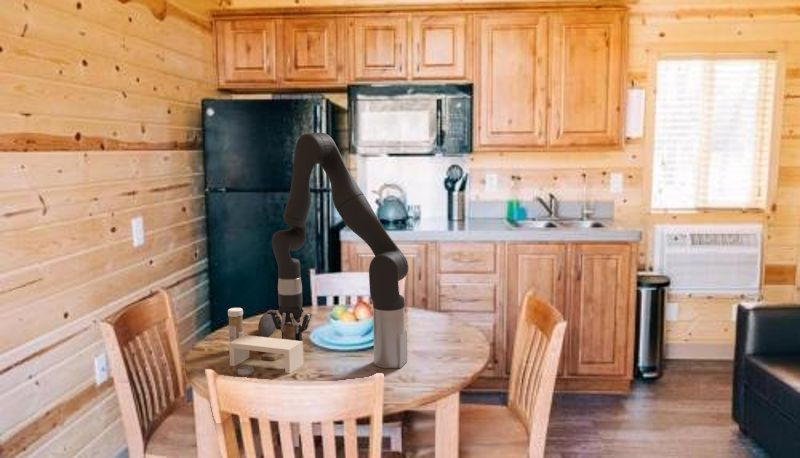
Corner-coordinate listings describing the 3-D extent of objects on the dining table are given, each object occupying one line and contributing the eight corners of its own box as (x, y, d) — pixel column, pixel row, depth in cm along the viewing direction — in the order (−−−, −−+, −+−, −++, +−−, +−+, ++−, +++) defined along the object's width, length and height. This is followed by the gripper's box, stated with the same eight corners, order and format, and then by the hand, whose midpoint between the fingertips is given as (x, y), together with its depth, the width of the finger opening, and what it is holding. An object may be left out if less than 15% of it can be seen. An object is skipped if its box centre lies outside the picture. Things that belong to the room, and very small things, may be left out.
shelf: (303, 364, 186) (302, 341, 185) (290, 373, 178) (289, 349, 178) (245, 356, 193) (244, 334, 192) (230, 365, 185) (228, 342, 184)
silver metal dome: (257, 372, 180) (256, 367, 180) (247, 377, 176) (247, 372, 176) (244, 370, 182) (244, 365, 182) (234, 375, 178) (234, 370, 178)
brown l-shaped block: (301, 343, 205) (300, 323, 204) (274, 360, 189) (273, 338, 188) (289, 342, 206) (288, 321, 205) (262, 358, 191) (261, 336, 190)
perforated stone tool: (268, 341, 208) (267, 320, 207) (252, 340, 208) (252, 320, 208) (281, 327, 223) (280, 308, 222) (266, 327, 223) (265, 308, 222)
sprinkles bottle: (246, 350, 198) (244, 309, 196) (232, 353, 196) (230, 311, 194) (241, 347, 202) (239, 306, 200) (227, 349, 199) (225, 308, 198)
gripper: (315, 290, 202) (317, 341, 204) (276, 287, 207) (278, 337, 209) (304, 295, 195) (306, 348, 197) (264, 292, 200) (266, 344, 202)
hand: (291, 342), depth 203 cm, fingers closed on brown l-shaped block, 4 cm apart
